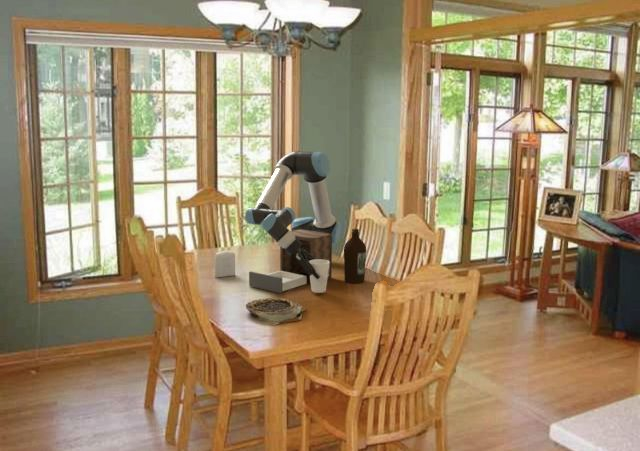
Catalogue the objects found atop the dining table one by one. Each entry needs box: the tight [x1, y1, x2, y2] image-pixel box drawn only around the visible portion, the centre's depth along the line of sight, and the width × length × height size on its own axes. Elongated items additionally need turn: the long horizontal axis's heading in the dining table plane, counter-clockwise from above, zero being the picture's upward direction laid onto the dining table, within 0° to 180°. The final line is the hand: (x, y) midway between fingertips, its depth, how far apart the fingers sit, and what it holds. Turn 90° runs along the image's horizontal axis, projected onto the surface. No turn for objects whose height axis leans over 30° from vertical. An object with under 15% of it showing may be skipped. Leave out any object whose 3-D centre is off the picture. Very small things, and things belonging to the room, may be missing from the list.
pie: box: [245, 296, 306, 326], centre depth 260 cm, size 28×27×5 cm
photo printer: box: [214, 250, 236, 278], centre depth 317 cm, size 10×4×12 cm, turn 123°
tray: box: [248, 270, 308, 294], centre depth 301 cm, size 20×19×7 cm
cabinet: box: [279, 229, 333, 285], centre depth 315 cm, size 15×19×22 cm
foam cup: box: [309, 259, 329, 293], centre depth 288 cm, size 10×9×13 cm
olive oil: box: [343, 228, 367, 284], centre depth 309 cm, size 11×11×25 cm
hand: (325, 280), depth 288 cm, fingers closed on foam cup, 9 cm apart
